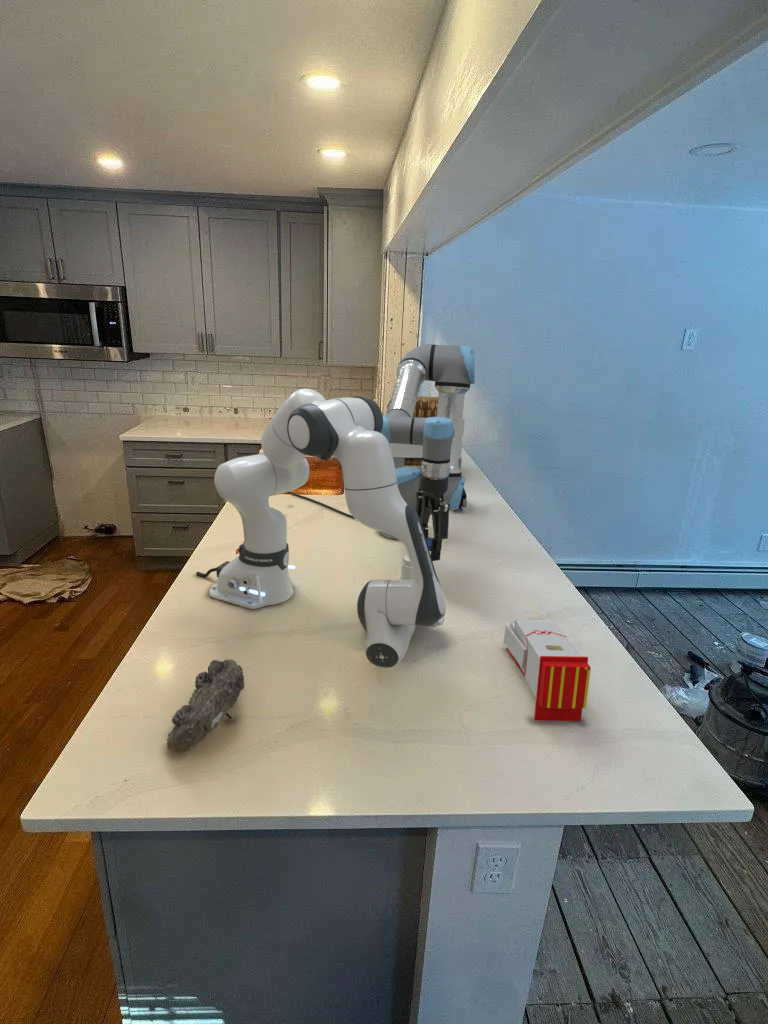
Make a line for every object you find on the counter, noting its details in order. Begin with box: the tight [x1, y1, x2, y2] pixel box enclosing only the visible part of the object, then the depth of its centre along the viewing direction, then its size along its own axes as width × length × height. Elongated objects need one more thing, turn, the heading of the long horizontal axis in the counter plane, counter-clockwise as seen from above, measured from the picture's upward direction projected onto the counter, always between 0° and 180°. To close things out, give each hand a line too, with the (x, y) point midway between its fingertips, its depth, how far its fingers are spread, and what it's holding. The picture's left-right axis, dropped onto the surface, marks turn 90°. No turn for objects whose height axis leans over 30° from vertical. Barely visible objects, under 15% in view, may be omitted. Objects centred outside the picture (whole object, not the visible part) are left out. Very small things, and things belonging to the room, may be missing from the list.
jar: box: [399, 553, 415, 580], centre depth 144 cm, size 5×5×17 cm
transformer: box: [385, 396, 465, 470], centre depth 268 cm, size 34×33×41 cm
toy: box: [503, 618, 592, 722], centre depth 122 cm, size 12×13×30 cm
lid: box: [426, 537, 433, 552], centre depth 158 cm, size 6×6×2 cm
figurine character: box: [453, 487, 468, 512], centre depth 228 cm, size 7×8×15 cm
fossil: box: [166, 658, 245, 754], centre depth 106 cm, size 22×10×15 cm
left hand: (409, 592), depth 145 cm, fingers closed on jar, 5 cm apart
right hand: (428, 555), depth 159 cm, fingers closed on lid, 6 cm apart
